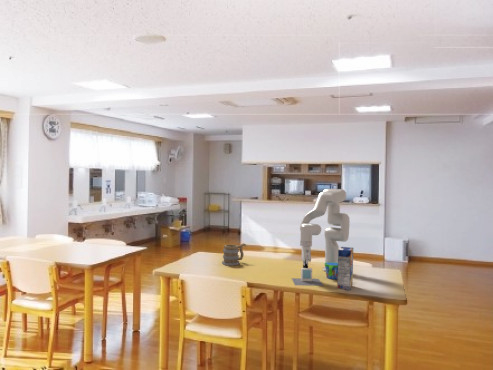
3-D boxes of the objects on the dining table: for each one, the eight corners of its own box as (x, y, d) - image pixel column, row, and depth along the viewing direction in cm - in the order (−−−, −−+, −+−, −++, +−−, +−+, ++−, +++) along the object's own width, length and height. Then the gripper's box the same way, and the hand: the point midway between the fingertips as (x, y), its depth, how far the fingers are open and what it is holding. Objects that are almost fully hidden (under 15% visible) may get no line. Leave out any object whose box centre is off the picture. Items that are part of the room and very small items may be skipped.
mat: (318, 279, 264) (318, 278, 264) (323, 286, 247) (323, 285, 247) (291, 279, 264) (291, 278, 264) (294, 286, 247) (294, 285, 247)
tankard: (227, 266, 299) (227, 246, 299) (219, 262, 310) (220, 243, 310) (250, 263, 309) (250, 244, 309) (242, 260, 320) (242, 242, 320)
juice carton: (340, 284, 254) (341, 246, 254) (352, 285, 251) (353, 247, 251) (337, 288, 243) (338, 249, 242) (349, 290, 240) (350, 250, 240)
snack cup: (328, 275, 277) (328, 260, 277) (343, 277, 272) (343, 262, 272) (321, 280, 264) (321, 264, 263) (336, 282, 259) (337, 266, 258)
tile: (311, 280, 260) (311, 268, 260) (312, 281, 258) (312, 268, 257) (300, 280, 260) (301, 267, 259) (301, 281, 257) (301, 268, 257)
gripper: (313, 245, 255) (313, 274, 255) (309, 241, 270) (309, 268, 270) (302, 245, 255) (301, 274, 255) (298, 241, 270) (298, 268, 270)
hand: (305, 271), depth 263 cm, fingers closed
